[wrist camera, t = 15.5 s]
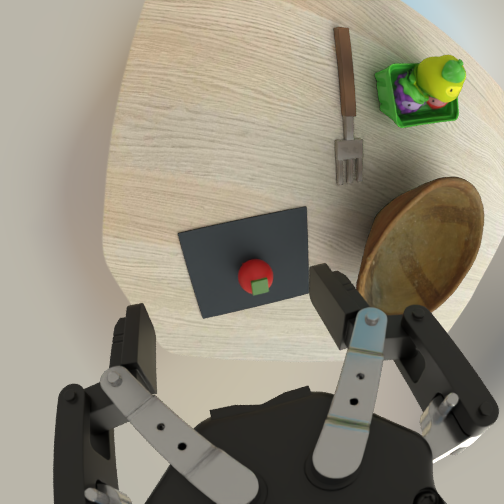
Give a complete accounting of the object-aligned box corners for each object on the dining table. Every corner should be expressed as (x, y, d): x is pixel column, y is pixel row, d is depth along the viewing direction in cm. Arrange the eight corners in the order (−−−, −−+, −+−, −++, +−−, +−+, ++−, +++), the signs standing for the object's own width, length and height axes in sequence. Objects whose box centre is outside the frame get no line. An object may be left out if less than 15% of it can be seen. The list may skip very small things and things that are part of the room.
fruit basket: (373, 122, 33) (434, 142, 24) (361, 54, 28) (425, 53, 19) (434, 113, 34) (494, 131, 24) (427, 54, 29) (489, 59, 19)
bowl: (300, 208, 37) (335, 248, 29) (430, 131, 35) (481, 150, 27) (349, 309, 49) (377, 351, 41) (448, 241, 47) (484, 270, 39)
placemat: (202, 317, 43) (202, 318, 43) (177, 233, 35) (177, 233, 35) (308, 292, 45) (309, 293, 45) (306, 206, 37) (306, 206, 37)
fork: (359, 179, 37) (364, 182, 36) (335, 183, 36) (340, 186, 35) (351, 29, 26) (357, 28, 25) (324, 27, 26) (329, 26, 25)
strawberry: (237, 284, 41) (244, 305, 37) (232, 257, 38) (239, 277, 35) (269, 276, 41) (279, 296, 38) (266, 249, 39) (276, 268, 35)
